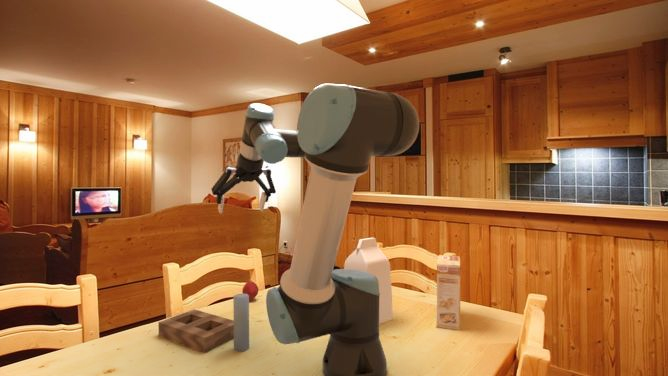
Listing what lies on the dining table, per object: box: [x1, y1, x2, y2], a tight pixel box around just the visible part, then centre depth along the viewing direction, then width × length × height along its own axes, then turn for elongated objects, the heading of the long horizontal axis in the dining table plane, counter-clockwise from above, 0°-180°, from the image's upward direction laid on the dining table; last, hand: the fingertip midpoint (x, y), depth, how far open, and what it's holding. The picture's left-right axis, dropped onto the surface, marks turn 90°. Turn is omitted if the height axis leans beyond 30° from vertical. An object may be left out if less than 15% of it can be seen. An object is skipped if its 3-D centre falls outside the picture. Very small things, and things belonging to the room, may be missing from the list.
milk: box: [343, 237, 394, 325], centre depth 115 cm, size 12×12×26 cm
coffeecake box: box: [436, 254, 462, 331], centre depth 114 cm, size 15×7×20 cm, turn 161°
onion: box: [241, 279, 259, 302], centre depth 133 cm, size 6×6×8 cm
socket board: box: [158, 308, 234, 354], centre depth 103 cm, size 20×12×4 cm, turn 59°
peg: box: [233, 293, 250, 352], centre depth 95 cm, size 4×4×14 cm
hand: (240, 209), depth 117 cm, fingers open, 13 cm apart
